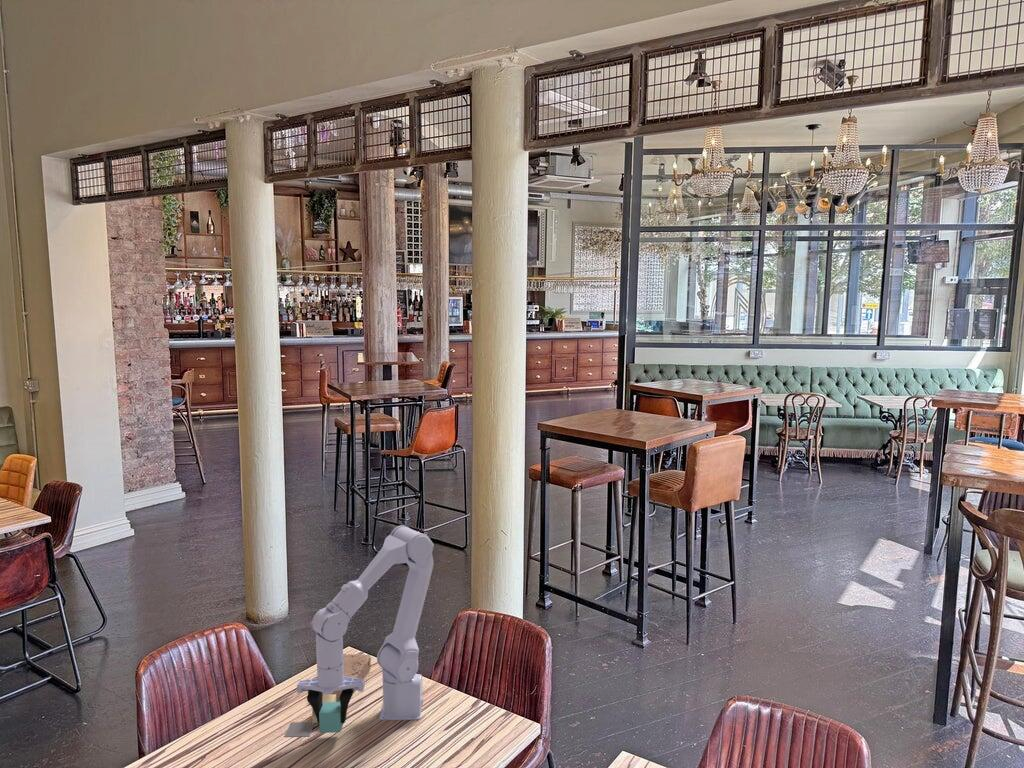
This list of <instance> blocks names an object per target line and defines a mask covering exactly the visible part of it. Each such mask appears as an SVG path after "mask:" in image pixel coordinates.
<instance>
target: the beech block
mask: <svg viewBox="0 0 1024 768" xmlns="http://www.w3.org/2000/svg"><path fill="white" fill-rule="evenodd" d="M324 702H337V701H336V694H323V700H322V704H323V703H324ZM311 709H312V710H311V711H312V715H311V716H312V717H311V719H312V720H311V722H312V723H315V724H318V721H317V718H316V715H315V712H314V710H313V708H312V707H311Z"/></svg>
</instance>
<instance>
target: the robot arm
mask: <svg viewBox="0 0 1024 768" xmlns="http://www.w3.org/2000/svg"><path fill="white" fill-rule="evenodd" d="M434 546H435V544H434V542H433V541H432V540H431V538H430V537H429V536H428V535H427V534H425V533H421V532H419V531H417V530H414V529H412V528H410V527H409V526H407V525H403V524H402V525H397V526H396V527H395V528H393V530H392V531H391V532H390V534H389V535H387V536H386V537H385V539H384V542H383V545H382V547H381V549H379V551H378V552H377V553H376V555H375V557H373V559H372V560H371V562H370V563H369V564H368V565H367V567H366V568H365V569H364V570H363V572H362V573H361V574H360V575H359V577H358V578H357V579H356V580H350V581H348V582H347V583H346V584H345V583H344V584H343V585H342V586H341V587H340V589H341V590H340V591H339V592H338V593H337V594H336V596H335V597H333V599H332V600H331V601H330V602H328V603H327V604H326V606H325V607H323V608H321V609H319V610H317V611H316V613H315V614H314V616H313V618H312V620H311V621H310V627H311V629H312V631H313V632H314V633H315V644H316V645H315V648H316V651H315V652H316V654H315V655H316V670H317V671H316V676H317V677H315V678H310V679H303V680H298V682H297V683H296V693H297V694H302V693H304V692H307V696H306V701H307V702H308V704H309V705H310V706H311V709H312V708H313V710H314V712H315V715H316V718H317V721H318V723H317V724H318V725H319V713H320V710H321V708H322V706H323V704H322V700H323V694H332V692H335V691H340V690H342V693H341V695H340V701H339V702H340V704H341V723H343V724H345V722H346V720H347V713H348V708H349V705H350V704H349V703H350V702H351V699H352V698H353V695H354V693H353V691H354V690H356V691H357V692H359V693H360V692H364V691H365V678H364V679H357V678H351V677H345V676H344V664H343V654H344V641H343V640H344V639H343V638H344V637H343V636H344V635H346V633H347V630H348V626H349V622H350V620H351V619H352V617H353V616H354V615H355V614H356V612H357V611H359V609H360V608H361V607H362V606H363V604H364V603H365V602H366V600H367V599H368V598H369V590H370V589H371V587H373V586H374V585H375V584H376V583H377V581H379V580H380V579H381V577H383V576H384V574H385V573H386V572H387V571H388V570H389V569H391V567H392V566H394V565H398V564H406V565H407V566H408V568H409V569H408V573H407V576H406V580H405V583H404V588H403V591H402V595H401V599H400V603H399V607H398V611H397V614H396V619H395V621H394V626H393V630H392V632H391V633H389V634H388V635H387V636H386V635H385V636H386V637H385V638H384V642H383V644H382V646H381V647H380V648H379V650H378V652H377V655H376V661H377V664H378V666H379V667H381V673H382V707H381V711H380V713H379V721H414V720H420V719H421V714H422V707H423V706H424V697H423V675H422V674H421V673H417V672H418V670H419V665H420V664H419V653H420V649H419V646H418V643H417V639H416V634H417V631H418V628H419V623H420V620H421V615H422V612H423V608H424V604H425V602H426V601H425V600H426V596H427V592H428V589H429V585H430V581H431V578H432V577H431V576H432V573H433V568H434V563H435V562H434V557H433V550H434ZM352 694H353V695H352Z"/></svg>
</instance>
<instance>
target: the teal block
mask: <svg viewBox="0 0 1024 768" xmlns="http://www.w3.org/2000/svg"><path fill="white" fill-rule="evenodd" d="M318 725H319V733H320V734H325V733H328V734H329V733H331V734H332V733H333V734H334V733H341V731H342V729H343V726H344V723H341V704H340V701H336V702H324V703H323V706H322V708H321V710H320V713H319V724H318Z"/></svg>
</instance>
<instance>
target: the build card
mask: <svg viewBox="0 0 1024 768" xmlns="http://www.w3.org/2000/svg"><path fill="white" fill-rule="evenodd" d="M315 724H316V723H312V721H299V722H298V721H297V722H296V721H295V722H293V721H292V722H290V724H289V726H288V727H287V730H286V732H285V734H284V736H283V737H284V738H302V737H303V738H305V737H307V738H308V737H310V736H311V733H312V731H313V729H314V726H315Z"/></svg>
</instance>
